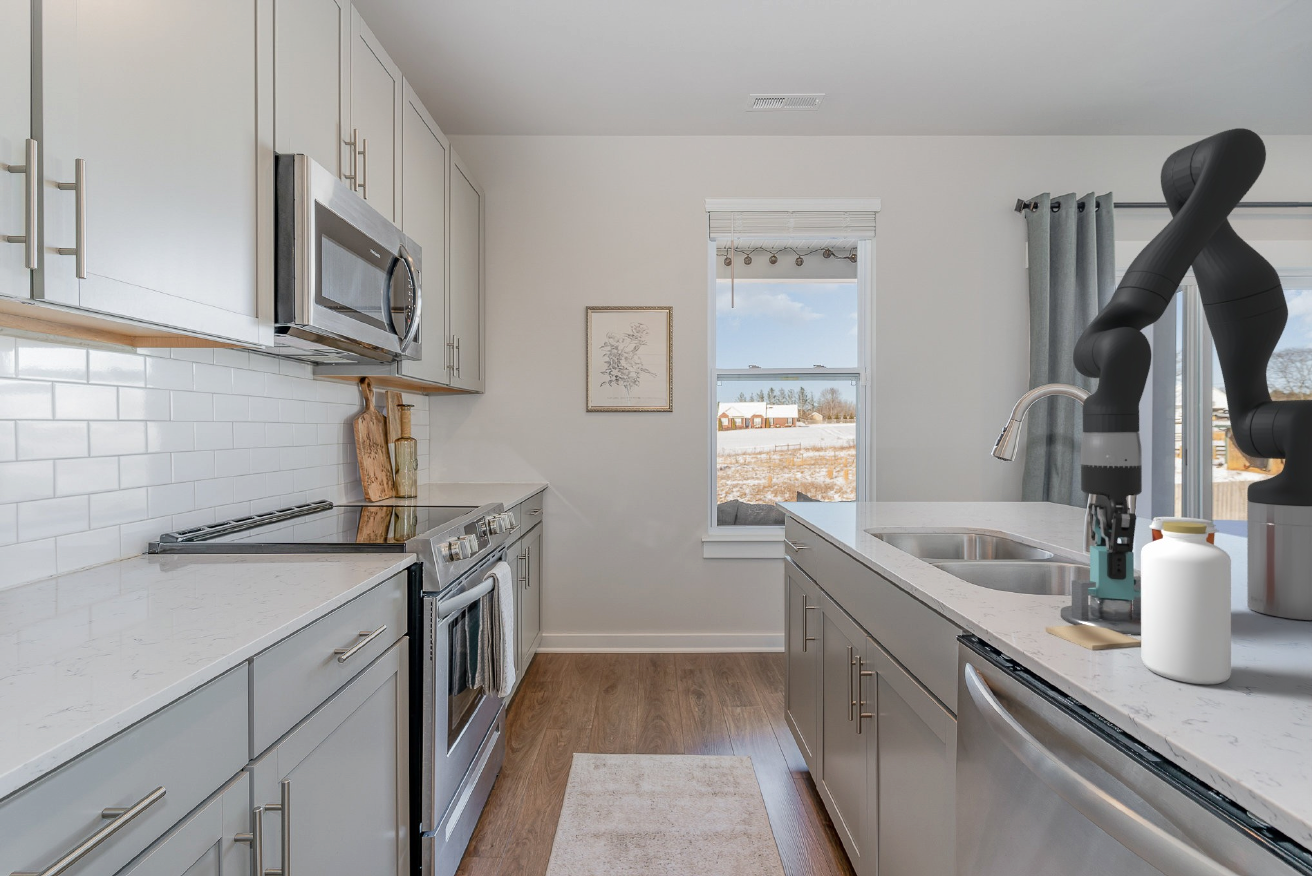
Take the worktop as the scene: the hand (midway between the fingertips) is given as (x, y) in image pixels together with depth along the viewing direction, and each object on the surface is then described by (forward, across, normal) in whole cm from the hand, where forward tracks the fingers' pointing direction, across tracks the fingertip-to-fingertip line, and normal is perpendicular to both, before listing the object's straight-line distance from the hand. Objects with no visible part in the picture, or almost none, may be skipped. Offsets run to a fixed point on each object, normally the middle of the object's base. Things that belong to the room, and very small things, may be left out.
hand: (1111, 574), depth 98 cm
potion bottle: (+7, -21, -2) cm, 23 cm away
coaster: (+7, -10, +5) cm, 13 cm away
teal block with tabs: (+3, 0, 0) cm, 3 cm away
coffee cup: (+7, +6, -11) cm, 15 cm away
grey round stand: (+7, 0, 0) cm, 7 cm away
